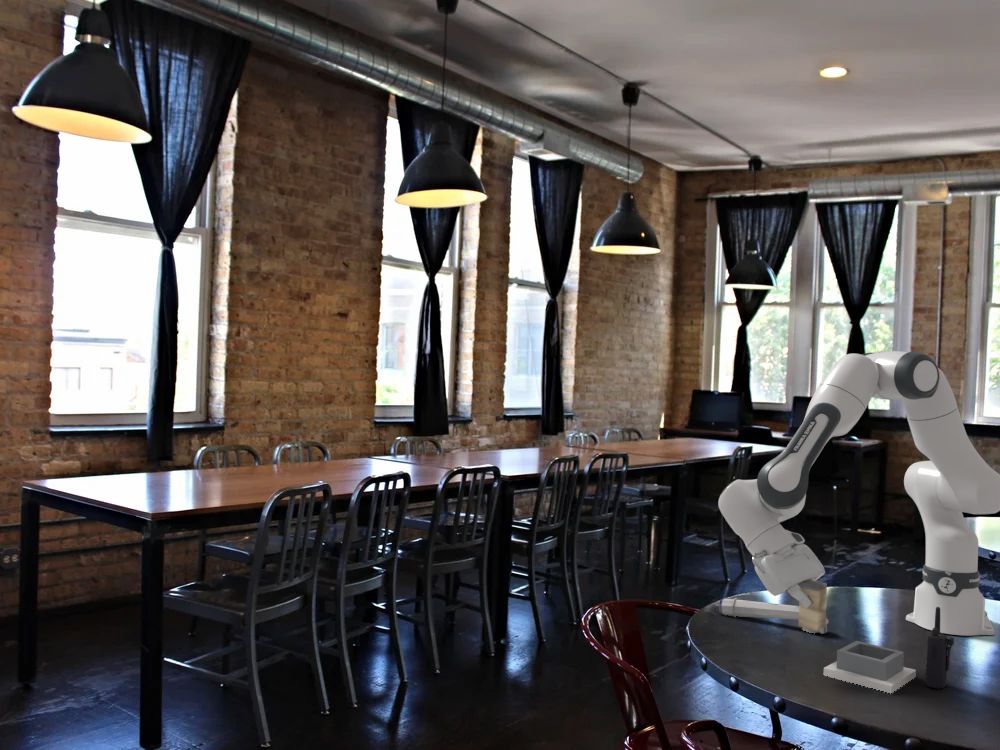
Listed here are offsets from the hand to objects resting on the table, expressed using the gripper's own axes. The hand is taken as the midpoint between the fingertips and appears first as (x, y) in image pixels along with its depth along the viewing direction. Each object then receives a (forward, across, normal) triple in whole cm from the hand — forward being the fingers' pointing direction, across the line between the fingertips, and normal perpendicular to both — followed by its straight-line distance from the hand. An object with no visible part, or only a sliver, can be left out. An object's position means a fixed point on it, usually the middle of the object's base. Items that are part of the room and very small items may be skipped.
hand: (815, 603), depth 182 cm
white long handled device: (-4, +19, +22) cm, 29 cm away
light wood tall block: (+3, 0, +4) cm, 5 cm away
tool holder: (+17, 0, 0) cm, 17 cm away
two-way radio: (+25, +5, -7) cm, 26 cm away
